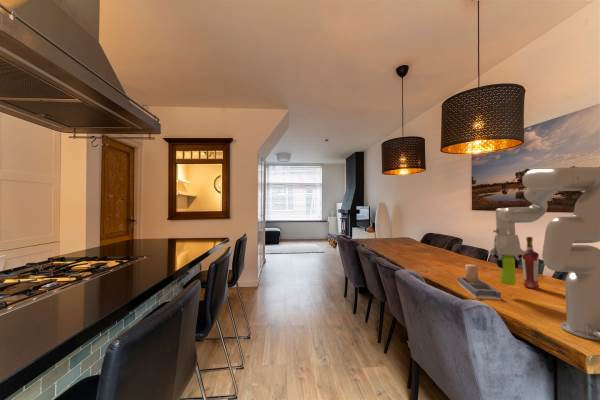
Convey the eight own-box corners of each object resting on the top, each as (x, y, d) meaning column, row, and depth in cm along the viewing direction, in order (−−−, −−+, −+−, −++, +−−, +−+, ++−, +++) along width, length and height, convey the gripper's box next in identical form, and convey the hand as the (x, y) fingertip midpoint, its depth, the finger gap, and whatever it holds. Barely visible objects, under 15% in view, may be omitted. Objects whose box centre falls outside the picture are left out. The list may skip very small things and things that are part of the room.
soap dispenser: (520, 285, 129) (519, 244, 130) (504, 284, 131) (503, 244, 132) (513, 282, 135) (512, 243, 136) (498, 281, 136) (497, 243, 138)
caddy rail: (501, 299, 129) (500, 275, 129) (475, 298, 131) (474, 274, 131) (478, 284, 154) (478, 263, 154) (457, 283, 156) (457, 262, 157)
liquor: (523, 284, 151) (521, 235, 152) (540, 287, 146) (539, 236, 146) (521, 287, 146) (519, 237, 147) (539, 290, 141) (537, 238, 141)
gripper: (489, 232, 133) (491, 268, 132) (530, 232, 129) (532, 269, 128) (483, 231, 140) (485, 265, 139) (521, 231, 136) (523, 266, 135)
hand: (507, 267), depth 133 cm, fingers closed on soap dispenser, 6 cm apart
